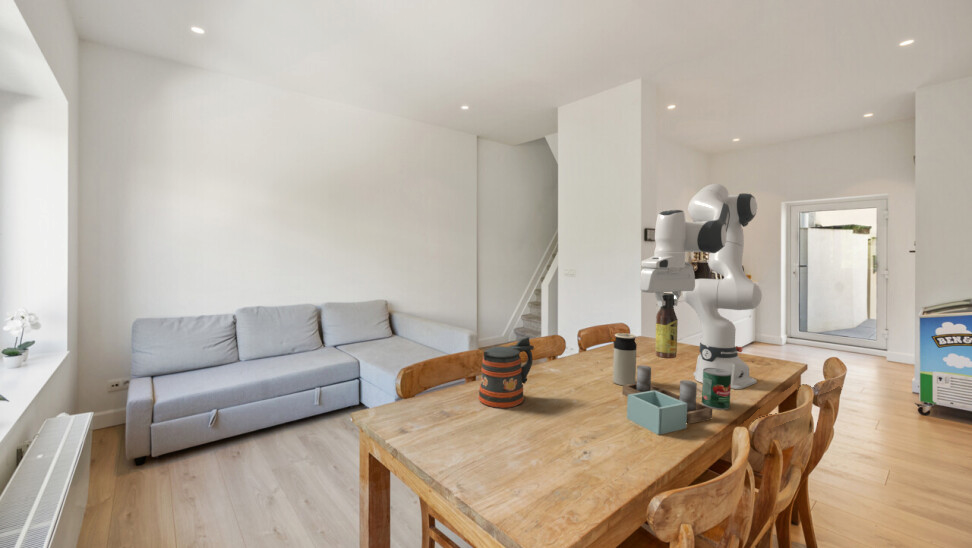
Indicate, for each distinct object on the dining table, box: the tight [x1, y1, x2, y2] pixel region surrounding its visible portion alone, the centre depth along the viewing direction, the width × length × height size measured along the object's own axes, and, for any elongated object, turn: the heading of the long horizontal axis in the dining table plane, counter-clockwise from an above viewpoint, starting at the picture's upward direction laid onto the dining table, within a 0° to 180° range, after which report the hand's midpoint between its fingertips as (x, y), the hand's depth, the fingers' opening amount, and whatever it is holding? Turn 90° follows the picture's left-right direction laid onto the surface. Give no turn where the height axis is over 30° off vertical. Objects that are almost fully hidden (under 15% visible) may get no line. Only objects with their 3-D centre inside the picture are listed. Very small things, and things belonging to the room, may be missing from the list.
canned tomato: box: [701, 368, 732, 411], centre depth 128 cm, size 8×8×11 cm
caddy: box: [626, 390, 687, 436], centre depth 114 cm, size 10×12×7 cm
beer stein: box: [478, 336, 535, 409], centre depth 131 cm, size 19×15×20 cm
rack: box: [622, 364, 713, 425], centre depth 127 cm, size 10×26×10 cm, turn 24°
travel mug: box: [612, 332, 638, 387], centre depth 149 cm, size 8×8×18 cm
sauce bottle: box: [654, 293, 679, 359], centre depth 126 cm, size 6×6×20 cm
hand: (667, 306), depth 126 cm, fingers closed on sauce bottle, 4 cm apart
